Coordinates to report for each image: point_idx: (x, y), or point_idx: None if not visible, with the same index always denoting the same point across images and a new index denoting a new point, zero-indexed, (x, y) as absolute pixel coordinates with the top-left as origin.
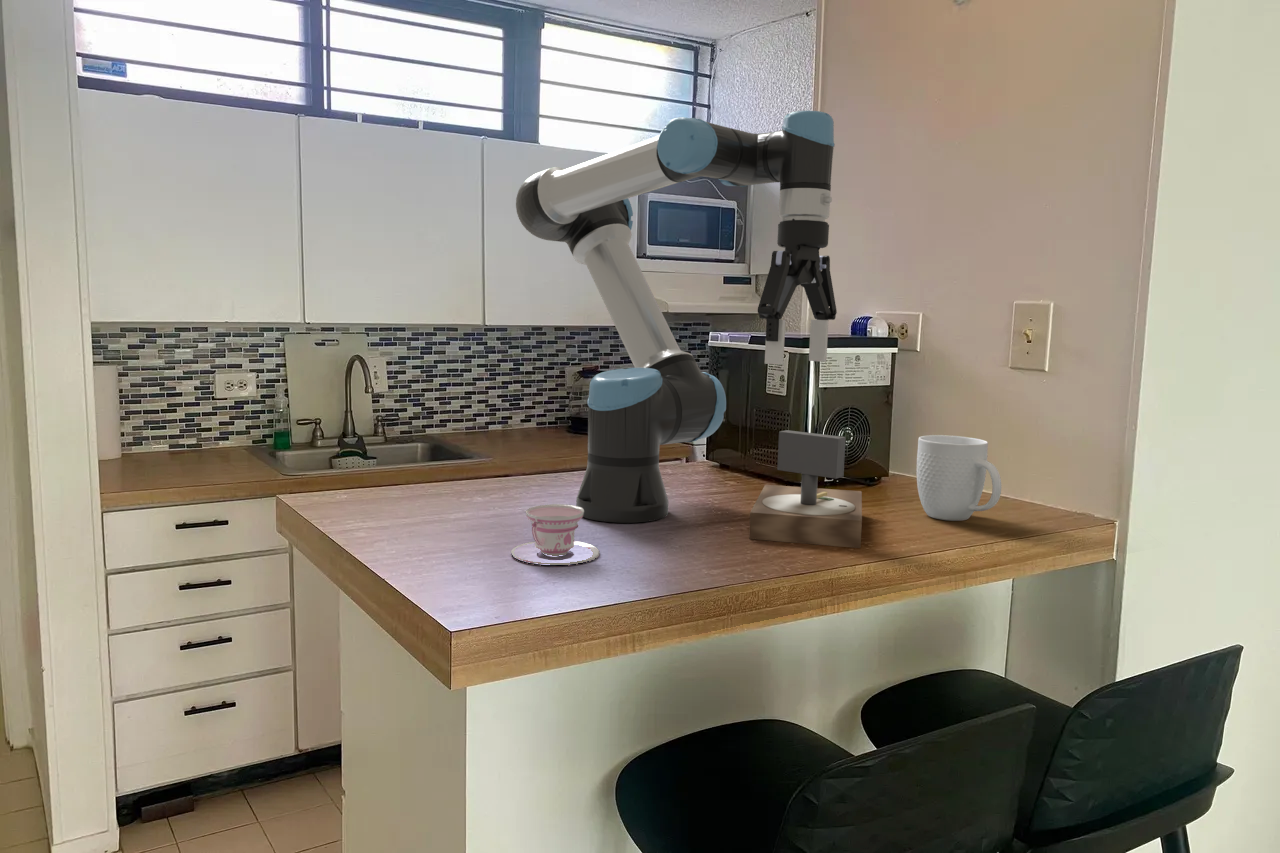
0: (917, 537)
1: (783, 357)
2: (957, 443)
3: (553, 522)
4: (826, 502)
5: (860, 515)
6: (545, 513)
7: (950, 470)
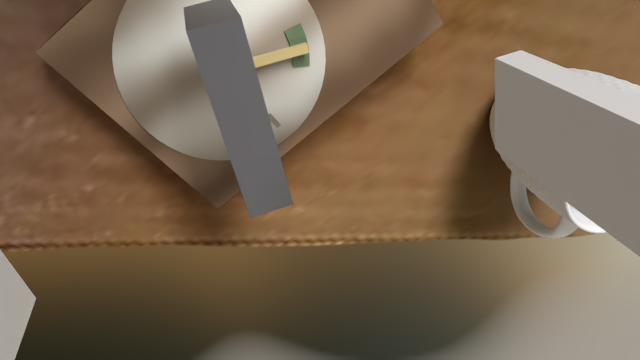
0: (353, 177)
1: (23, 330)
2: None
3: None
4: (273, 76)
5: None
6: None
7: (529, 184)
